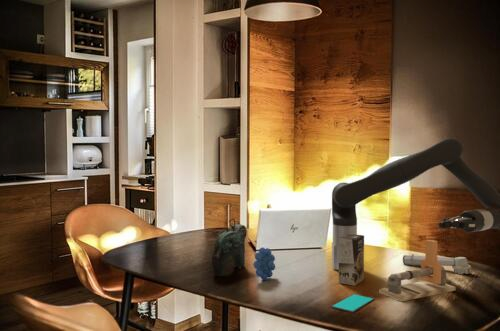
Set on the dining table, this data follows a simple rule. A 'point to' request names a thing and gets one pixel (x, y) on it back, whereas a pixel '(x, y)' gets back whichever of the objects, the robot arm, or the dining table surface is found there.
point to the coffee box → (351, 259)
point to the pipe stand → (415, 285)
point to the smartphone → (352, 303)
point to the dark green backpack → (229, 248)
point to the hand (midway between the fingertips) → (440, 225)
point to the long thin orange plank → (431, 262)
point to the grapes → (264, 263)
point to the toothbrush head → (456, 263)
